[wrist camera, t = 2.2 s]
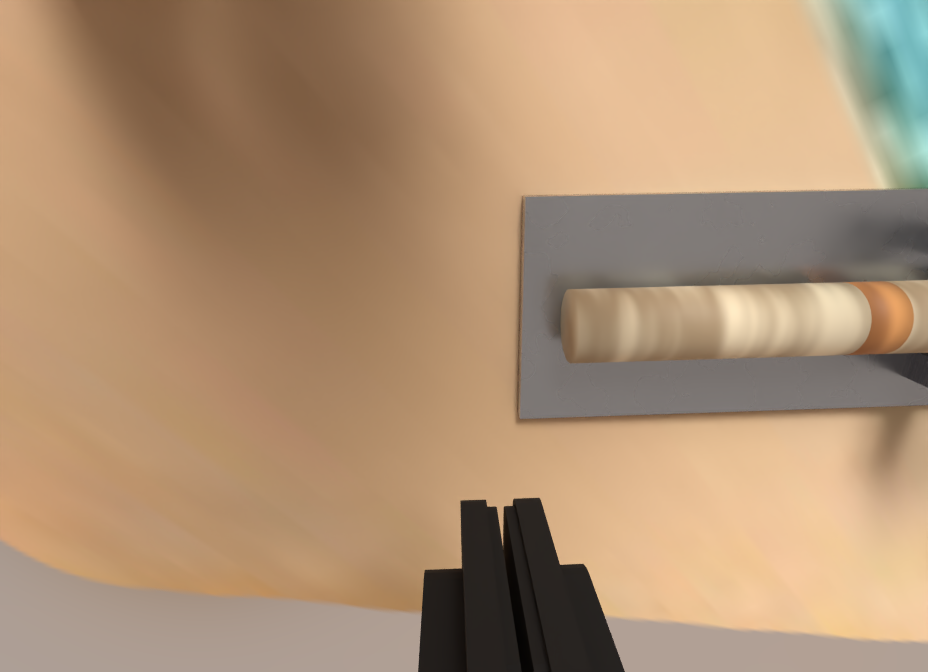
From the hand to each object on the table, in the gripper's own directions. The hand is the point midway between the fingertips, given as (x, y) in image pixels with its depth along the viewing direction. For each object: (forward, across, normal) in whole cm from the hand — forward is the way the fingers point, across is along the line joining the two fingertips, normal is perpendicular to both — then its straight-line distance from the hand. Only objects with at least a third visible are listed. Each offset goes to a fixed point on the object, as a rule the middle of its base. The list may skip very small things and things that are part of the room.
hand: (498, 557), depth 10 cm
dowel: (+16, -17, -1) cm, 23 cm away
